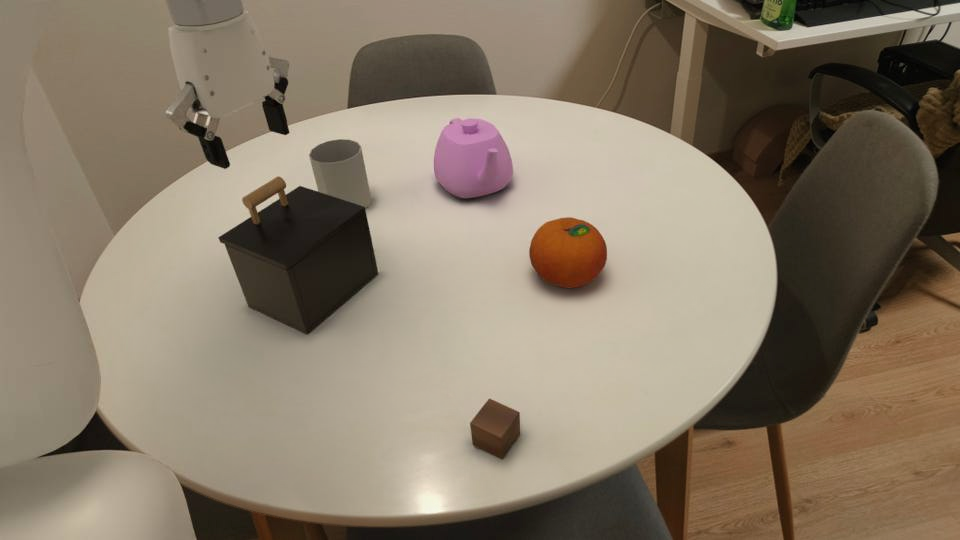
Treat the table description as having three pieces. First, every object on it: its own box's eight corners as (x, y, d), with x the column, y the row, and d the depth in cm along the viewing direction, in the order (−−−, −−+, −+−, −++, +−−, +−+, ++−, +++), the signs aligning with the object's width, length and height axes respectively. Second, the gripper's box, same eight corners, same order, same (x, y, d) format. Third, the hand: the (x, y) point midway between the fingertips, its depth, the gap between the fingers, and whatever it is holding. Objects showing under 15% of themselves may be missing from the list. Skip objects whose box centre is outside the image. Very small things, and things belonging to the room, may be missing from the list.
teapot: (422, 170, 115) (414, 110, 108) (488, 153, 119) (484, 94, 112) (463, 224, 101) (456, 158, 93) (536, 202, 104) (536, 138, 97)
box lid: (220, 242, 81) (207, 209, 78) (301, 190, 91) (292, 159, 88) (286, 270, 76) (276, 236, 73) (366, 211, 85) (359, 179, 82)
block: (502, 460, 65) (501, 438, 63) (472, 445, 67) (469, 422, 65) (520, 434, 68) (519, 411, 65) (490, 420, 70) (489, 397, 67)
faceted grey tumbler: (355, 185, 113) (345, 134, 106) (380, 203, 107) (370, 150, 101) (313, 203, 109) (300, 151, 102) (337, 222, 103) (324, 168, 97)
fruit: (516, 285, 88) (515, 238, 83) (549, 246, 95) (549, 201, 90) (587, 308, 83) (590, 260, 78) (616, 265, 90) (620, 218, 85)
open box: (248, 307, 88) (224, 244, 81) (321, 252, 97) (305, 191, 90) (307, 335, 82) (286, 270, 76) (378, 274, 92) (366, 212, 85)
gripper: (244, -17, 75) (281, 115, 86) (114, 26, 64) (174, 172, 75) (288, -11, 72) (320, 126, 83) (158, 35, 61) (215, 187, 72)
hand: (251, 148), depth 79 cm, fingers open, 9 cm apart
